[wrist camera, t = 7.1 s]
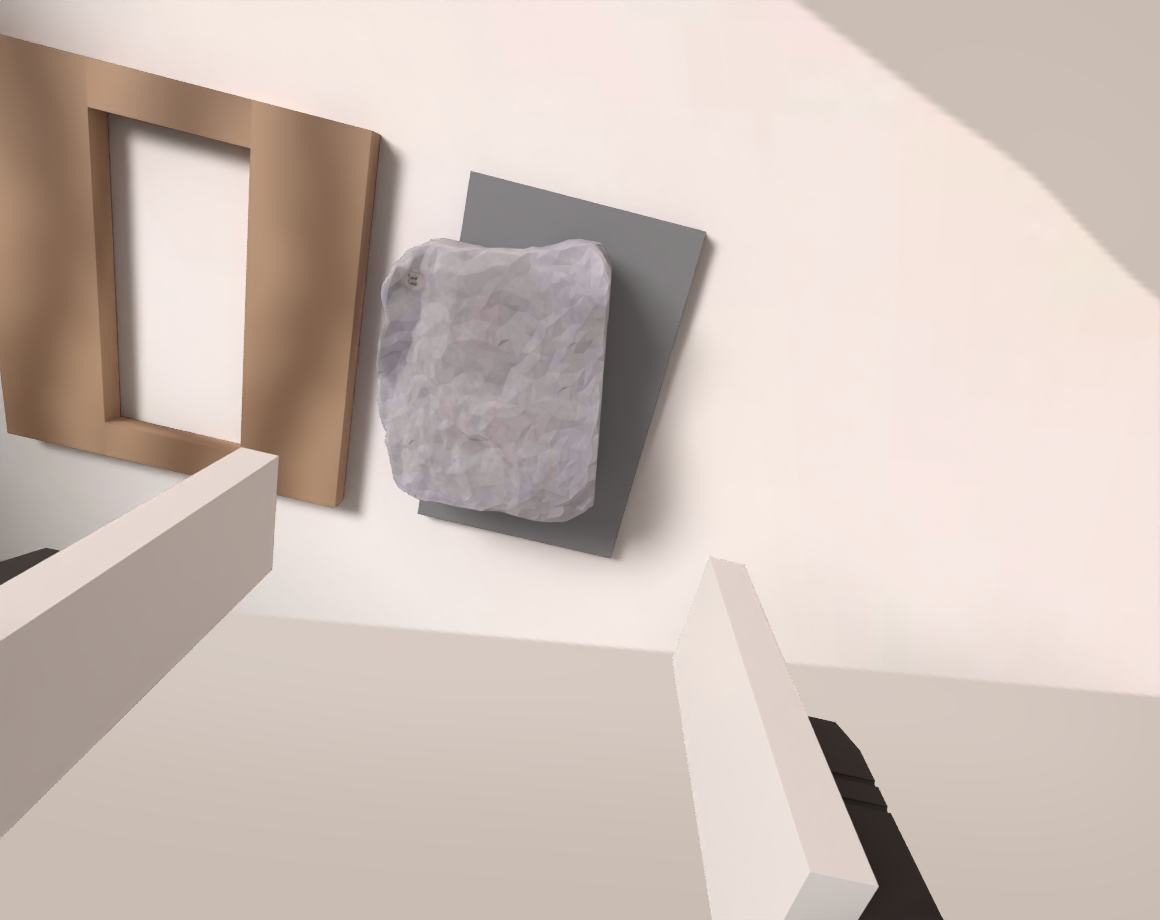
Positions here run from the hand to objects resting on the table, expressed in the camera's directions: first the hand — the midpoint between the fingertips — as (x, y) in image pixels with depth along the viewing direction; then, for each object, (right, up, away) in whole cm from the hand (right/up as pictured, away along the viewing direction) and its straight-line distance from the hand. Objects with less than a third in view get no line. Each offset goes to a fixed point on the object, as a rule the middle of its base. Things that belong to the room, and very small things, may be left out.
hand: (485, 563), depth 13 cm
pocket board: (-16, +10, +14) cm, 24 cm away
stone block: (-2, +6, +15) cm, 16 cm away
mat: (+1, +6, +15) cm, 16 cm away
